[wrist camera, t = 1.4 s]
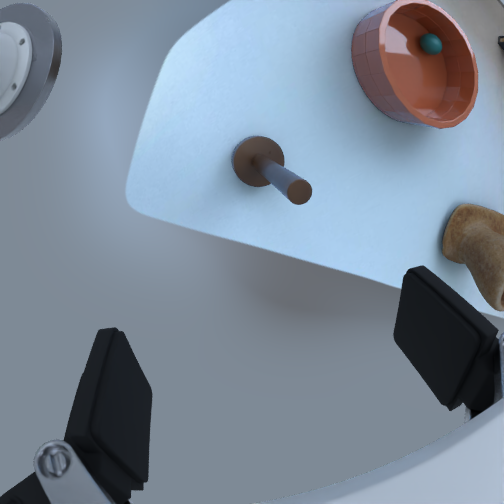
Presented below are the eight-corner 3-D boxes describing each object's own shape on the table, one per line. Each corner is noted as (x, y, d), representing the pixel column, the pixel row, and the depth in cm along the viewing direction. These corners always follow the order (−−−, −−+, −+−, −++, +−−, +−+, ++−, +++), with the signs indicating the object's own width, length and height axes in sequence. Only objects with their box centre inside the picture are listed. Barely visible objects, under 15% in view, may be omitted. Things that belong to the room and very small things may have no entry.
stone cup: (426, 267, 42) (489, 321, 28) (450, 193, 37) (527, 232, 24) (476, 271, 45) (530, 314, 31) (497, 211, 40) (559, 245, 27)
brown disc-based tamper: (221, 164, 31) (239, 200, 18) (253, 125, 30) (295, 131, 17) (259, 193, 33) (302, 247, 20) (290, 156, 32) (354, 186, 18)
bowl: (325, 55, 27) (350, 45, 22) (392, -11, 24) (420, -23, 18) (409, 148, 33) (440, 156, 28) (461, 76, 30) (491, 77, 24)
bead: (411, 42, 27) (426, 39, 24) (421, 30, 26) (436, 27, 23) (425, 60, 28) (440, 58, 25) (435, 48, 27) (450, 46, 24)
